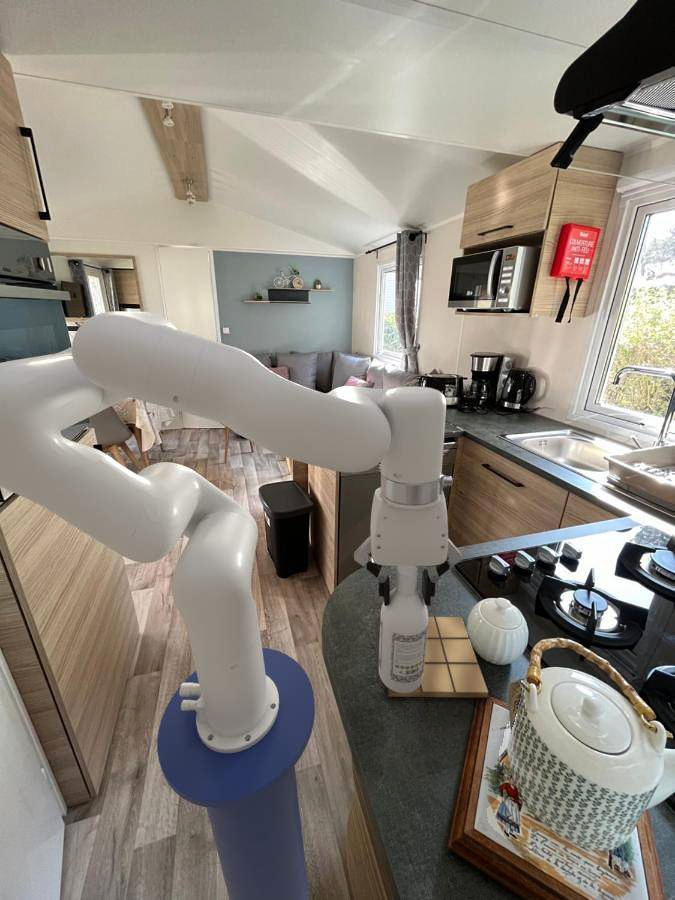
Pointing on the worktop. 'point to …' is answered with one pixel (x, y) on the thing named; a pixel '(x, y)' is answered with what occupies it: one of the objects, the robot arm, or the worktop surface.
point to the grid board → (448, 663)
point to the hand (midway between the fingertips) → (405, 597)
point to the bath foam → (403, 634)
